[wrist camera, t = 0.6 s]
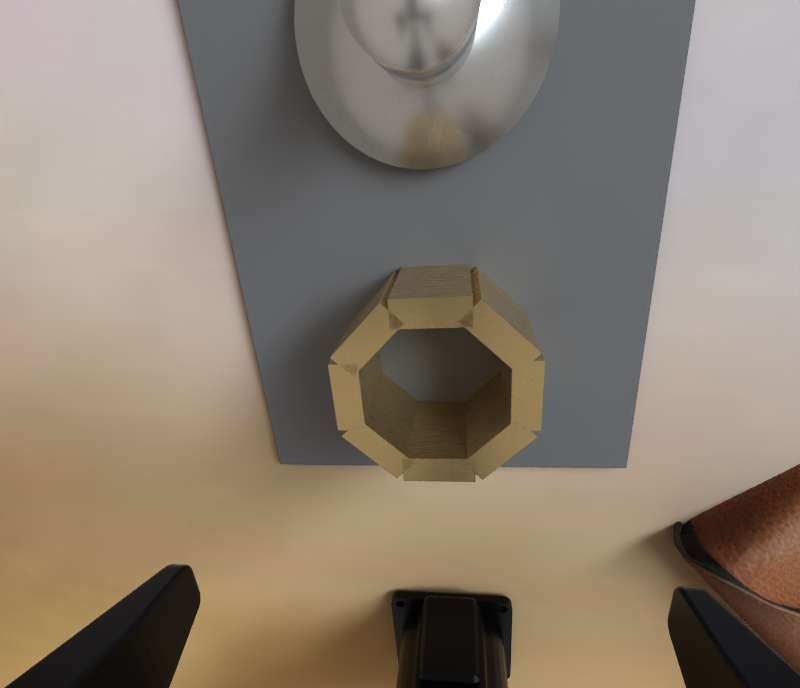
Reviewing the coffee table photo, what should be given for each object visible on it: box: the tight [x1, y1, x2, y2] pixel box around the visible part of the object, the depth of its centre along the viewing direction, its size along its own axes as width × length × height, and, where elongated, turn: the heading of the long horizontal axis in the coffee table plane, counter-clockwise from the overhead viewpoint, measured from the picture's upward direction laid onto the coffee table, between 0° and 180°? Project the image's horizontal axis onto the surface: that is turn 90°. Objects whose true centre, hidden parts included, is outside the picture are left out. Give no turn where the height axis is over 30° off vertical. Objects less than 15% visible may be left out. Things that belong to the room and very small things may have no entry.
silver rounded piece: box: [294, 0, 560, 169], centre depth 12 cm, size 8×8×5 cm
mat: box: [178, 0, 695, 468], centre depth 17 cm, size 22×16×1 cm
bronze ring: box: [328, 264, 545, 482], centre depth 17 cm, size 7×7×4 cm
